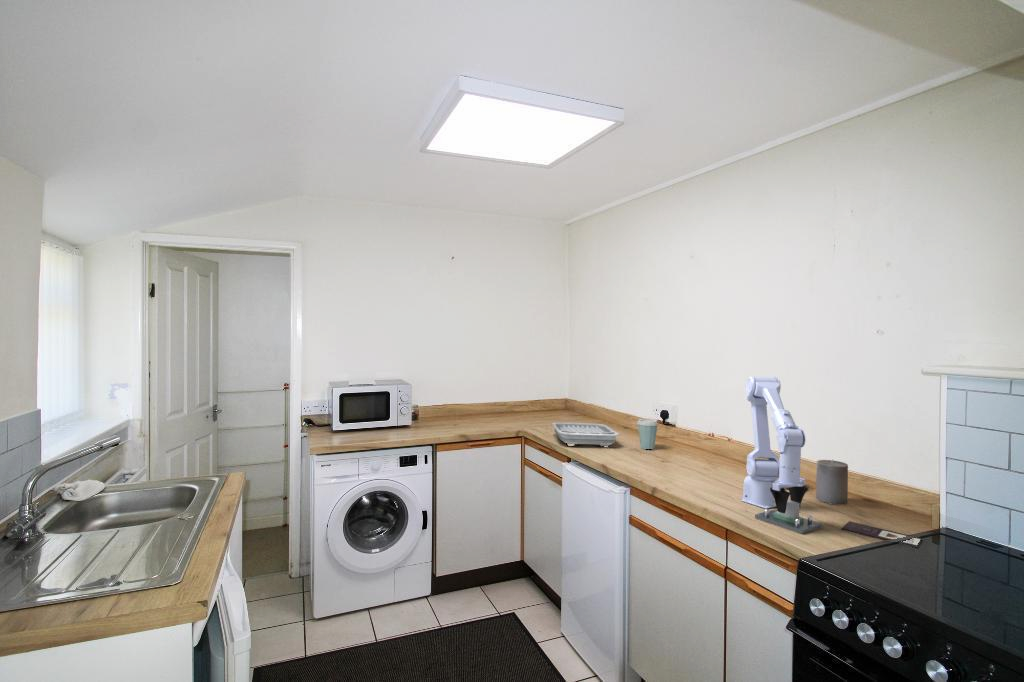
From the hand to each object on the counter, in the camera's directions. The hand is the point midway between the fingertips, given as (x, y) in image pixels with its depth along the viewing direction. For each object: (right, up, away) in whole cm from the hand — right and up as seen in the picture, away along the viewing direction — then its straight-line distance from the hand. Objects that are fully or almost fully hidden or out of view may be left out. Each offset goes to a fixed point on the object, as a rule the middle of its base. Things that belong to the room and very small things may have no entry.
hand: (788, 510), depth 163 cm
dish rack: (-48, -2, +117) cm, 126 cm away
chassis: (0, -4, 0) cm, 4 cm away
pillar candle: (+28, -5, +24) cm, 38 cm away
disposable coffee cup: (-18, -2, +103) cm, 105 cm away
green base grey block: (0, -3, 0) cm, 3 cm away
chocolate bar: (+23, -5, -8) cm, 25 cm away
